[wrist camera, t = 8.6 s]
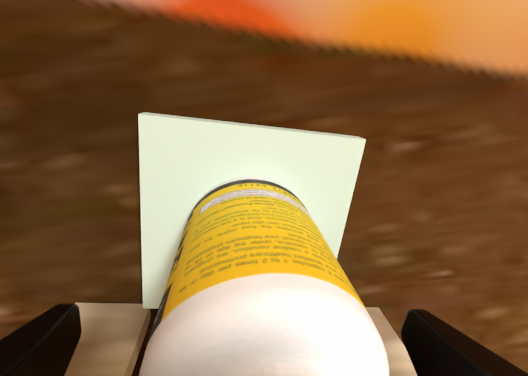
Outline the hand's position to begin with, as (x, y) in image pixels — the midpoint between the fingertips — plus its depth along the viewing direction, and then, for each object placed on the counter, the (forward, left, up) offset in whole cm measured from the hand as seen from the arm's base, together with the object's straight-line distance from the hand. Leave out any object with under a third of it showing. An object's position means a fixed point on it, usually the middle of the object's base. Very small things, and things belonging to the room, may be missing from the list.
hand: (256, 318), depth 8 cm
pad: (0, 0, -6) cm, 6 cm away
